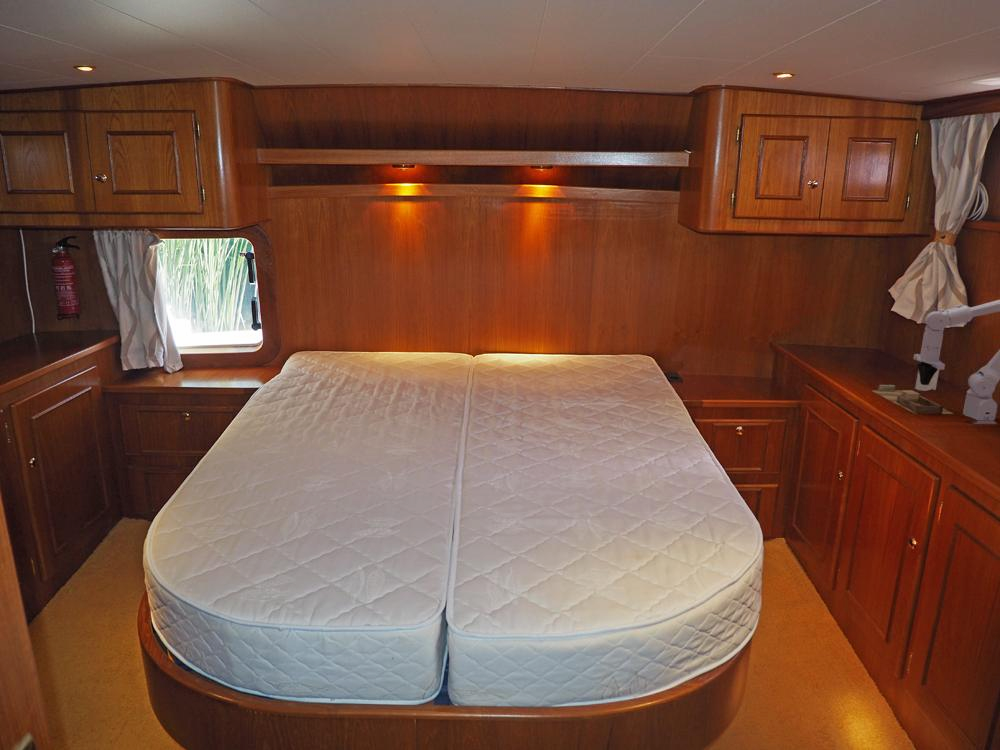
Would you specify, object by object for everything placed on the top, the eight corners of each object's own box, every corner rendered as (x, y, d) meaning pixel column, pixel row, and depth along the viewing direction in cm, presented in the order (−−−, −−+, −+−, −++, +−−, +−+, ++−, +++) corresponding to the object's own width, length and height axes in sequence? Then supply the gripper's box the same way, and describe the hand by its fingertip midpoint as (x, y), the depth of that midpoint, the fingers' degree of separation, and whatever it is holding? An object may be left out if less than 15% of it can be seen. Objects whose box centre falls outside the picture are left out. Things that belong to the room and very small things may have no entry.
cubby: (941, 413, 246) (943, 406, 245) (917, 413, 246) (919, 406, 245) (919, 402, 258) (920, 395, 258) (896, 402, 258) (897, 395, 257)
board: (953, 417, 246) (955, 407, 245) (913, 417, 246) (915, 407, 245) (906, 394, 273) (907, 385, 272) (870, 394, 273) (871, 384, 272)
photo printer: (924, 395, 272) (929, 364, 269) (912, 392, 276) (918, 361, 273) (937, 391, 278) (942, 360, 275) (925, 388, 282) (931, 358, 278)
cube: (917, 404, 256) (919, 393, 255) (906, 404, 256) (908, 393, 255) (910, 401, 260) (912, 390, 259) (900, 401, 260) (902, 390, 259)
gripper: (907, 341, 252) (901, 378, 255) (933, 351, 238) (926, 390, 241) (927, 342, 252) (920, 378, 256) (953, 351, 238) (946, 390, 242)
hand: (924, 384), depth 249 cm, fingers closed
